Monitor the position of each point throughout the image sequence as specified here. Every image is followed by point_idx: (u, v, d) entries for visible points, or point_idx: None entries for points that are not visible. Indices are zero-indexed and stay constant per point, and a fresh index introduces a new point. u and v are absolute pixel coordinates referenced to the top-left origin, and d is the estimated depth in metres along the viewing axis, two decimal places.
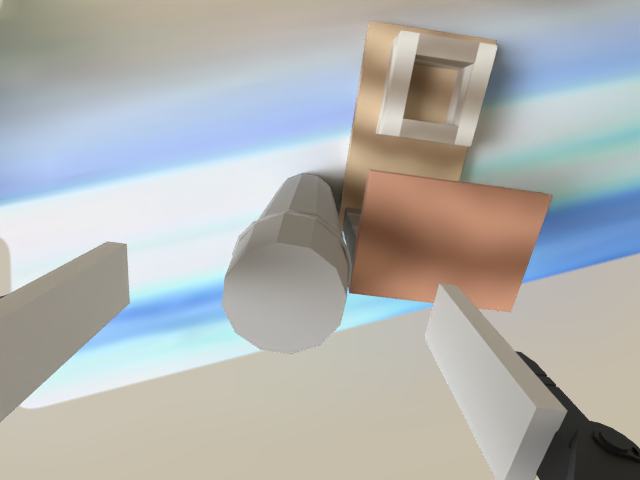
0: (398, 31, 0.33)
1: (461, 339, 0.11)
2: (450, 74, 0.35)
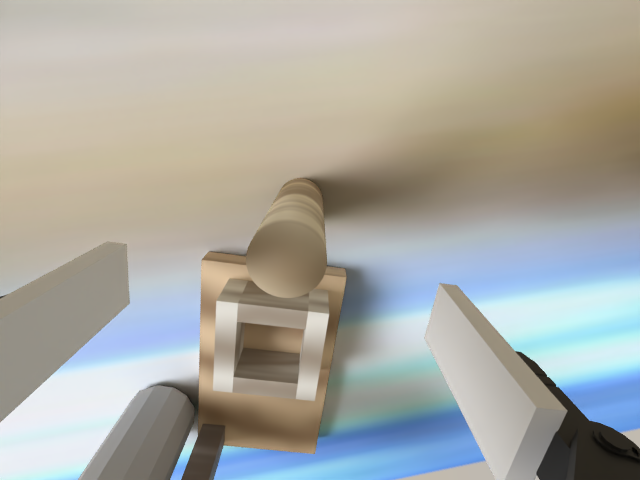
0: (234, 269, 0.30)
1: (461, 340, 0.11)
2: None
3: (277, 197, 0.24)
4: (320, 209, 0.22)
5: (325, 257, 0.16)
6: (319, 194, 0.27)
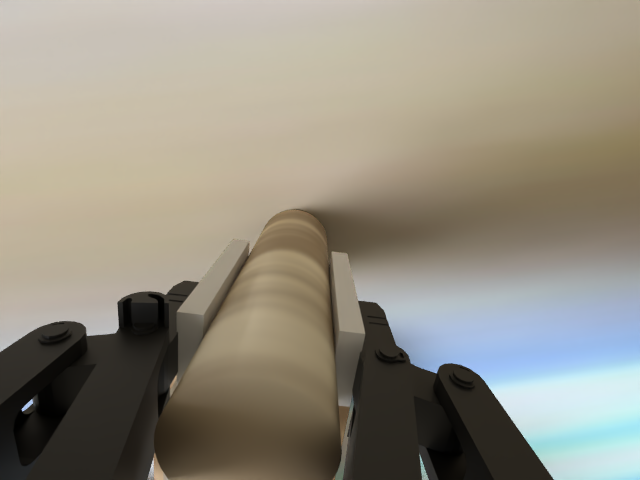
0: None
1: (331, 294, 0.13)
2: None
3: (254, 250, 0.15)
4: (324, 276, 0.13)
5: (338, 442, 0.07)
6: (322, 237, 0.18)
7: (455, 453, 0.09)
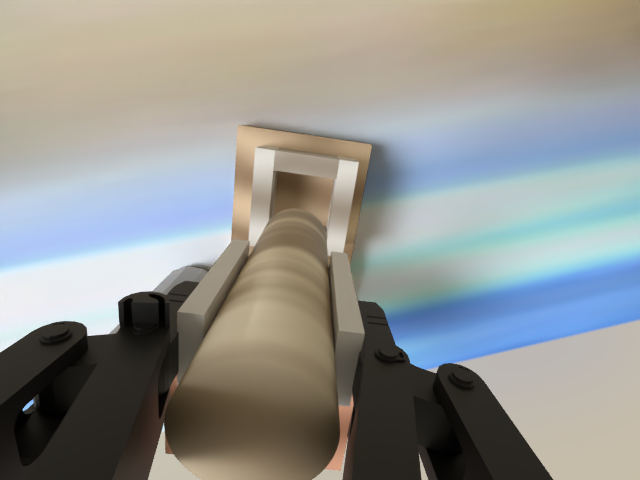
0: (268, 135, 0.32)
1: None
2: None
3: (256, 247, 0.15)
4: (324, 272, 0.14)
5: (337, 423, 0.07)
6: (322, 235, 0.18)
7: (454, 453, 0.09)
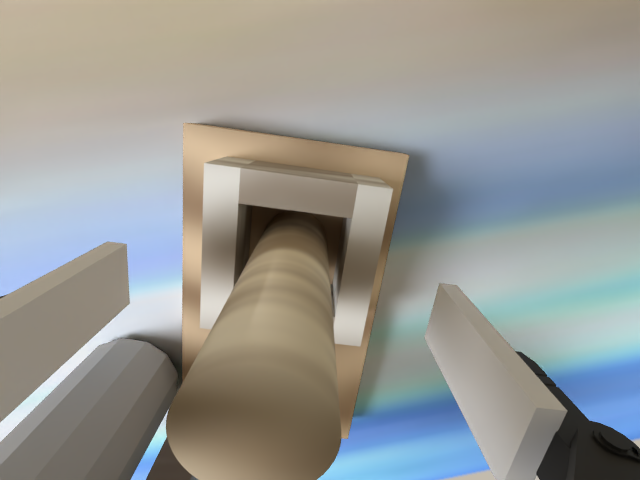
0: (235, 140, 0.19)
1: (461, 340, 0.11)
2: None
3: (256, 249, 0.15)
4: (324, 274, 0.14)
5: (338, 426, 0.08)
6: (322, 237, 0.18)
7: None
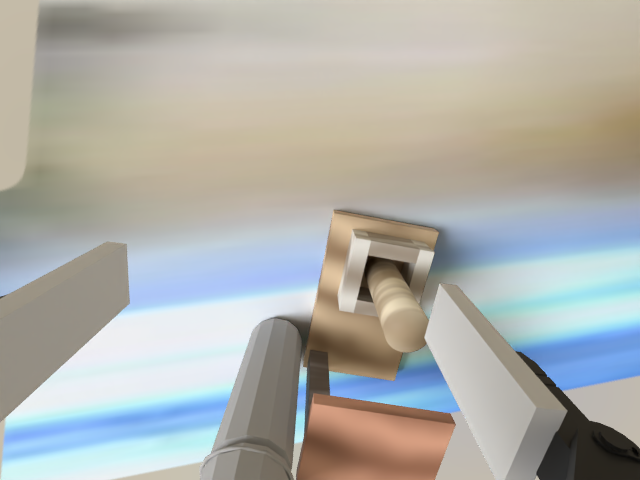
0: (357, 222, 0.40)
1: (461, 339, 0.11)
2: None
3: (377, 276, 0.36)
4: None
5: None
6: (398, 270, 0.39)
7: None
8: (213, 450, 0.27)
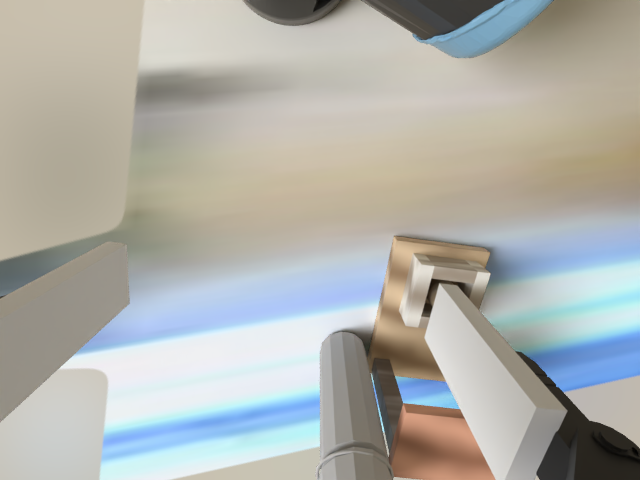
0: (417, 247, 0.45)
1: (461, 339, 0.11)
2: None
3: None
4: None
5: None
6: None
7: None
8: (325, 453, 0.34)
